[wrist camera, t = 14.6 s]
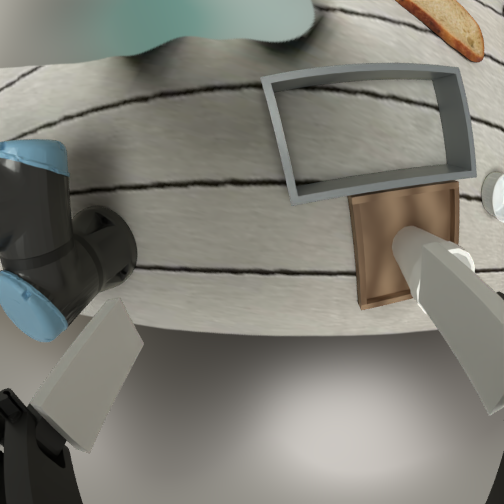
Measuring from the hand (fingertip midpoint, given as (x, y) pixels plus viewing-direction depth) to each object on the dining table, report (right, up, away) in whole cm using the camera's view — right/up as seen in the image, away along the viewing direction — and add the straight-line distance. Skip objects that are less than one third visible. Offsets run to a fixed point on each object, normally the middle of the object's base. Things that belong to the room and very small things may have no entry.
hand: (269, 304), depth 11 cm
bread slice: (+31, +42, +13) cm, 53 cm away
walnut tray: (+25, +4, +29) cm, 38 cm away
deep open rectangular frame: (+16, +20, +23) cm, 35 cm away
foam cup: (+24, +3, +28) cm, 38 cm away
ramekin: (+44, +13, +24) cm, 51 cm away
